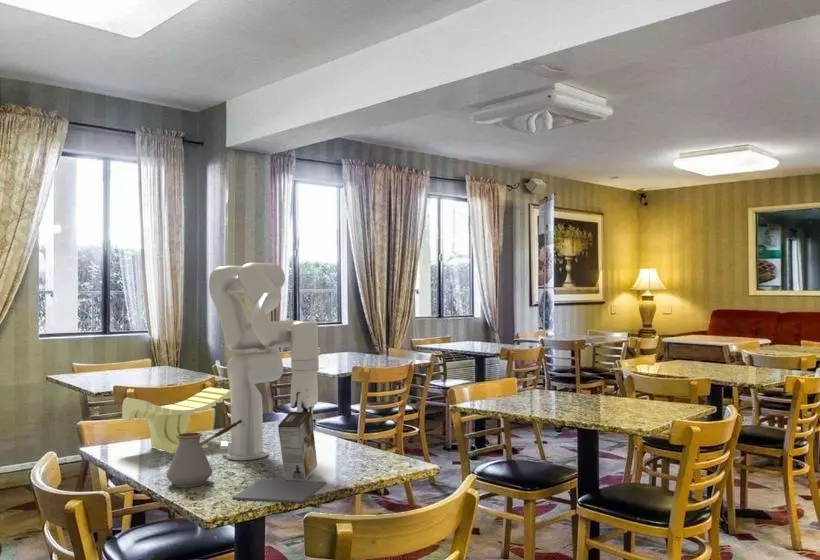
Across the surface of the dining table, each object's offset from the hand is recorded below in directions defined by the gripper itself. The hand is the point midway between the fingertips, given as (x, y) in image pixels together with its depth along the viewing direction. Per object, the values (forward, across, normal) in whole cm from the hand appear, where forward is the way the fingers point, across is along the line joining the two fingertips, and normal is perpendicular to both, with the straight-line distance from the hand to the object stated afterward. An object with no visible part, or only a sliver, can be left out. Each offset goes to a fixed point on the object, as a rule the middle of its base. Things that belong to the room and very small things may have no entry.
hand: (306, 432), depth 190 cm
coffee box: (+10, +3, 0) cm, 11 cm away
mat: (+11, +17, 0) cm, 21 cm away
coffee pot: (+12, +10, -24) cm, 29 cm away
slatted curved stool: (+11, -27, -55) cm, 62 cm away
